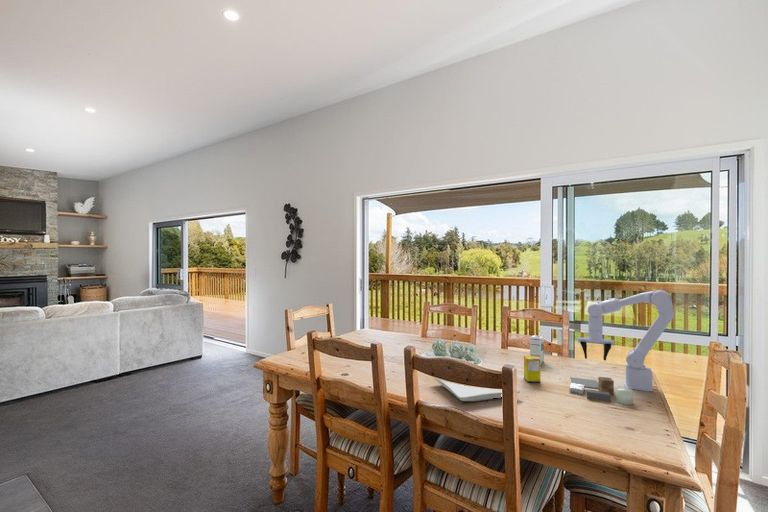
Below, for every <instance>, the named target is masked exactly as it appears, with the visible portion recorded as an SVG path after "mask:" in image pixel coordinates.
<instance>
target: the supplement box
mask: <svg viewBox="0 0 768 512" xmlns="http://www.w3.org/2000/svg"><path fill="white" fill-rule="evenodd" d="M523 380H525V382H526V383H528V384H530V383H531V384H534V383H535V384H541V380H542V379H541V365H540V359H539V358H538V357H537V356H530V355H523Z"/></svg>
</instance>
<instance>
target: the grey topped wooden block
mask: <svg viewBox="0 0 768 512" xmlns="http://www.w3.org/2000/svg"><path fill="white" fill-rule="evenodd" d="M585 388H586V387H585V385H582V384H576V383H571V382H570V385H569V393H571V394H577V395H583V394H584V391H585V390H586V389H585ZM584 389H585V390H584Z"/></svg>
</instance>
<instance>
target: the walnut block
mask: <svg viewBox="0 0 768 512" xmlns="http://www.w3.org/2000/svg"><path fill="white" fill-rule="evenodd" d="M597 379H598V380H597V382H598V389H597V391H602V392H609V394H610V396H615V387H614V384H615V382H614V379H612V378H611V377H608V376H607V377H605V376H598V378H597Z"/></svg>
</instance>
